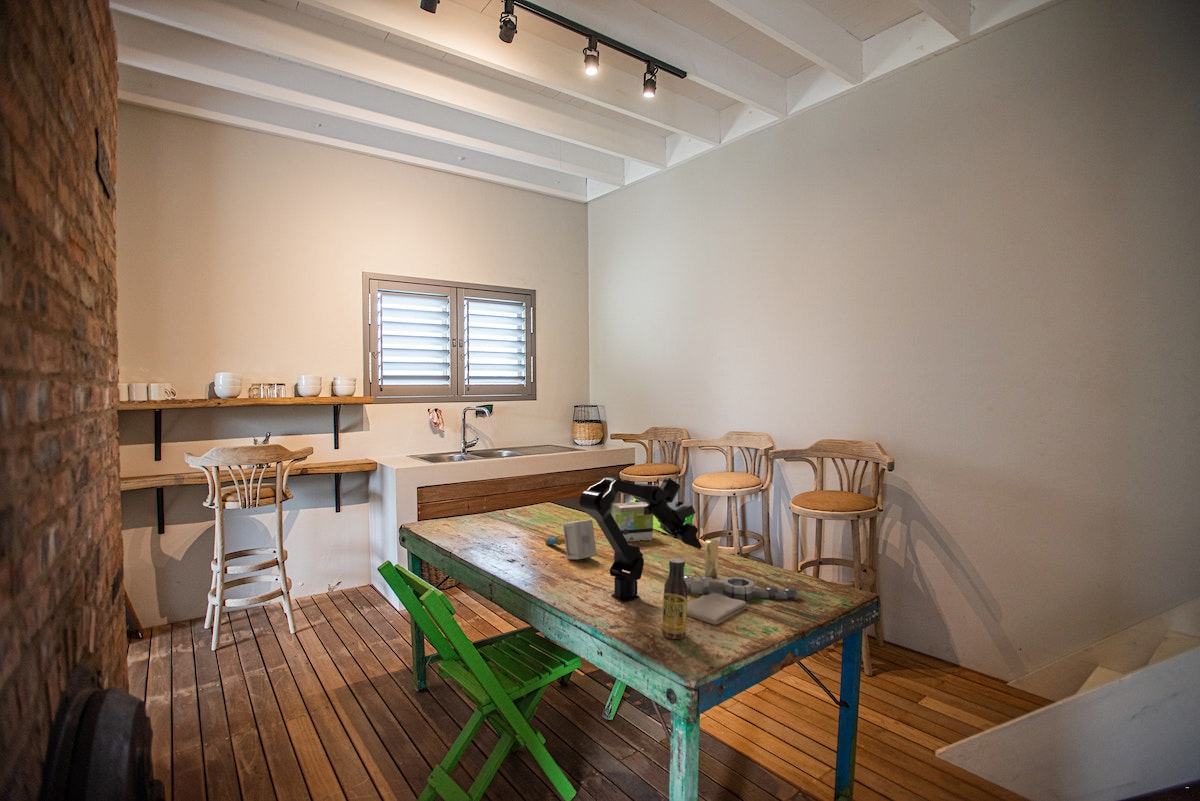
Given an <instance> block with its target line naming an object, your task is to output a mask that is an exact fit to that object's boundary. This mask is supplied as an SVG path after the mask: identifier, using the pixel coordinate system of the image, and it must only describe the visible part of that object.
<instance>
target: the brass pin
mask: <svg viewBox="0 0 1200 801" xmlns="http://www.w3.org/2000/svg"><path fill="white" fill-rule="evenodd" d="M704 576H710V577H712V579H719V540H717V539H713V538H712V539H705V540H704Z"/></svg>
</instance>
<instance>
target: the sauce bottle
mask: <svg viewBox="0 0 1200 801" xmlns="http://www.w3.org/2000/svg"><path fill="white" fill-rule="evenodd" d="M668 565H669V566H668V567H669V571H668V577H667V579H666V581H665V583H664V589H663V595H662V596H663V598H662V614H661V615H662V616H661V631H662V632H661V634H662V636H663V637H665V638H667V639H669V640H681V639H683V638H684V637H685V636H686V630H687V616H686V615H687V604H688V593H687V585H686V583H685V581H684V575H685V574H684V573H685V566H686V561H685V560H684V559H682V558H678V557H677V558H675V557H674V558H669V562H668Z"/></svg>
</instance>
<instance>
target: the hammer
mask: <svg viewBox="0 0 1200 801" xmlns="http://www.w3.org/2000/svg"><path fill="white" fill-rule="evenodd" d="M562 528H563V536H560V535H558V536H549V537H546V538H545V540H544V543H545V545H549V546H553V545H559V546H560V545H563V544H564V546H565V551H566V553H565V554H566V559H567V560H582V559H588V558H593V557H597V554H598V553H597V546H596V538H595V531H594V523H593V519H584V520H575V521H569V522H563V523H562Z"/></svg>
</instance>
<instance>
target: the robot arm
mask: <svg viewBox="0 0 1200 801" xmlns="http://www.w3.org/2000/svg"><path fill="white" fill-rule="evenodd" d="M680 490H681V485H680V484H679V483H677V481H675V480H673V479H672V478H671V477H669V476H665V477H664V478H663V481H662V482H661V484H660V486H659V485H653V484H646V483H637V484H636V483H633V482H630V481H625V480H622V479H620V478H618V477H612V476H605V477H604V478H603V479H601V480H600V481H599V482H597V483H596V484H593V485H591V486H589V487H588V488H587V489H586V490H584V491H583V492H582V494H580V496H579V497H580V498H579V500H578V503H579V506H580V508H581V509H582V510H583V511H584V512H585V513H586V515H587V516H588V515H589V517H591V518H592V519H593V520H595V522H596V523H597V525H598V527H599V528H600V531H602V533H603V535H604V537H605V538H606V539H607V540H606V541H607V542H608V543H609V545H610V547H611V548H612V550H613V552H614V553H613V555H614V556H613V560H614V561H613V563H612V565H611V566H610V568H609V574H610V577H614V579H613V580H614V592H613V593H611V597H613V598H614V599H616V600H618V601H620V602H622V603H625V602H629V601H632V600H637V598H638V599H640V597H641V596H640V595H638V580H641V578H642V574H643V570H644V565H645V559H644V557H643V556H644V553H642V552H641V550H640V547H639V546H638V545H636V544H631V543H628V542H627V540H626V539H625V537H624V535H623V534H622V532H621V530H620V528H619V527H618V525H617V523H616V522H615V520H614V518H613V516H612V513H611V512H612V504H613V502H614V501H615V499H616V495H617V493H620V494H624V495H627V496H632V497H634V499H635V500H637V501H638V502H645V503H647V504H648V506H645V507H644V515H650V514H653V517H654V518H656V519H657V522H658V523H660V524H659V525H660V526H659V527H660V528H661V530H662V531H663V532H665V533H667V534H668V535H670V536H673V537H675V538H677V539H678V540H679V541H681V543H683V544H684V545H687V546H691V547H693V548H695V549H698V550H702V548H703V546H702V545H701V542H700V540H699V539H698V536H697V534H698V532H699V528H698V527H697V526H696V525H694V524H693V523H691V522H688V523H687V520H686V519H688V518H689V517H690V516H694V514H696V511H695V508H694V506H693V504H692V503H690V502H687V501H681V500H677V501H676V502H675V507H674V509H673V508H671V506H670V505H668V503H671V504H672V503H673V501H674V500H675V498H676V497H677V495H678V493H679V492H680ZM685 522H686V523H685Z"/></svg>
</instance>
